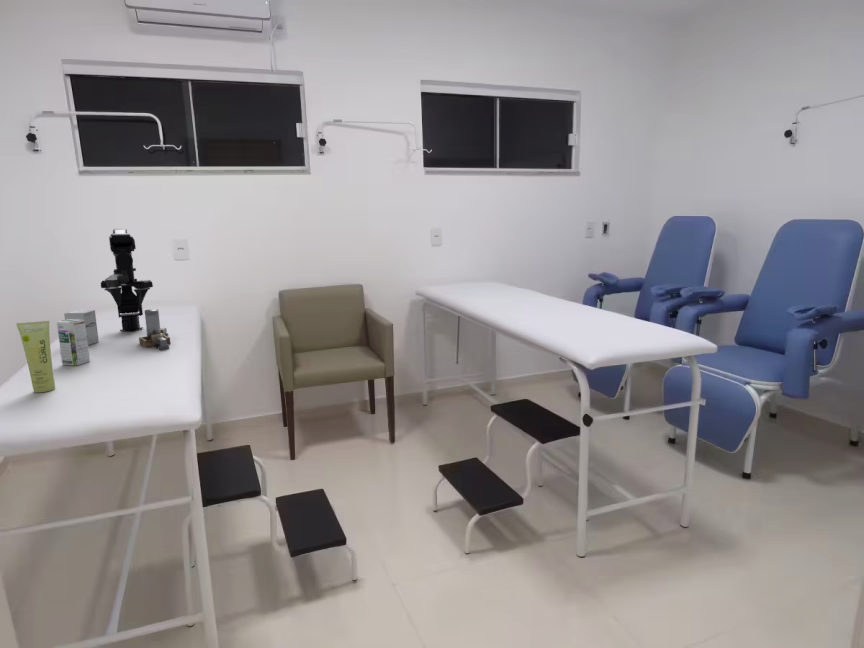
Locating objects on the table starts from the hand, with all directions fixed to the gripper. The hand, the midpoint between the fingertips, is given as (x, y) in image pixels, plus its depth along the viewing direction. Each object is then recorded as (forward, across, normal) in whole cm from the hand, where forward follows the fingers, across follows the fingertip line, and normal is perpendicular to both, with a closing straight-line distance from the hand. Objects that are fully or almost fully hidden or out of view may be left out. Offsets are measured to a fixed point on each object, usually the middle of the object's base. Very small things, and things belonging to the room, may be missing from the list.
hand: (129, 306), depth 211 cm
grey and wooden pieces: (+13, +17, -5) cm, 22 cm away
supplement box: (+13, -12, -11) cm, 21 cm away
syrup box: (+13, +8, -36) cm, 39 cm away
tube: (+13, +22, -62) cm, 67 cm away
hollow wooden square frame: (+13, +15, -7) cm, 21 cm away
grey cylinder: (+13, +15, -7) cm, 21 cm away
